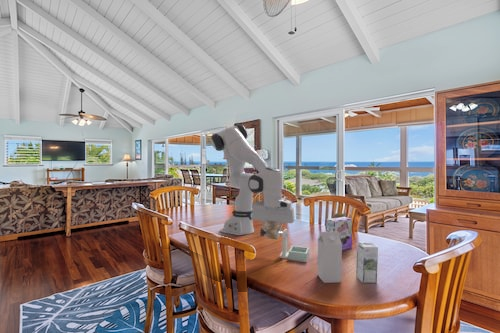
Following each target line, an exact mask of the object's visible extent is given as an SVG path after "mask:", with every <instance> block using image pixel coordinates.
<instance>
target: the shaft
mask: <svg viewBox="0 0 500 333" xmlns="http://www.w3.org/2000/svg"><path fill="white" fill-rule="evenodd" d="M259 234H260V236H261V237H265V236H266V230H264V227H262V228H261V229H260V233H259ZM282 234H283V231H281V232H279V237H282ZM287 235H288V236H289V234H287V233H286V237H287Z"/></svg>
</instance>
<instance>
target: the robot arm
mask: <svg viewBox="0 0 500 333" xmlns="http://www.w3.org/2000/svg"><path fill="white" fill-rule="evenodd" d="M247 138H248V131H247V129H246V127H245V126H244V125H243V124H235V125H232V126H229V127H226V128H225V129H222V130H220V131H219V132H217V133H215V134H213V135H211V138H210V140H211V141H210V142H211V145H212V147H213V148H214V149H215V151H218V152H221V151H222V152H223V155H224V157H225V160H226V163H227V166H228V168H229V175H230V176H229V178H228V183H229V185H230V186H231V187H232V188H235V189H238V190H239V192H238V195H237V196H236V197H235V200H234V201H235V202H234V207H235V208H234V210H233V211H231V214H232V216H230V217H229V218H228V219H226V220H225V221H224V223H223V227H222V228H220V229H219V230H220V233H225V234H229V235H230V234H231V235H236V236H241V235H242V236H243V235H249V234H253V233H254V232H255V229H254V225H253V224H254V223H253V221H257V222H258V221H259V222H261V224H262V226H263V228H264V230H266V221H272V222H279V227H278V228H277V229H278V230H277V231H278V232H282V227H283V225H285V224H293V223H294V222H295V211H294V208H293V202H292V201H291V200H288V199H286V198H283V193H282V188H283V175H282V171H281V170H280V169H279V168H276V167H271V166H270V165H269V164H268V163H267V162H266V160H265V159H264V158H263V157H262V156H261V154H259V152H258V151H257V150H255V149H254V148H253V147H252V146H251V145H250V143H249V141H247ZM246 163H247V164H249V165H252V166H253V167H254V168H255V169H256V170H257V171H258V173H255V174H254V173H252V172H245V165H246ZM254 194H263V201H262V200H261V201H259V200H255V201H253V198H254V197H253V196H254Z"/></svg>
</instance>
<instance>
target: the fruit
mask: <svg viewBox="0 0 500 333" xmlns="http://www.w3.org/2000/svg"><path fill="white" fill-rule="evenodd" d="M340 217H347V215H346V214H345V213H342V212H337V213H335V214H334V215H333V216H332V218H340ZM332 218H331V219H332Z"/></svg>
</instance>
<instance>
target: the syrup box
mask: <svg viewBox="0 0 500 333" xmlns="http://www.w3.org/2000/svg"><path fill="white" fill-rule="evenodd" d="M378 255H379V247H378V246H377V245H376V244H375V243H374V242H373V243H372V242H370V241H369V242H366V241H365V242H363V241H361V242H357V244H356V271H355V272H356V273H355V275H356V276H355V277H356V278H357V279H358V280H359V281H360V282H361V283H362V284H377V283H378V259H379V256H378Z"/></svg>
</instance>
